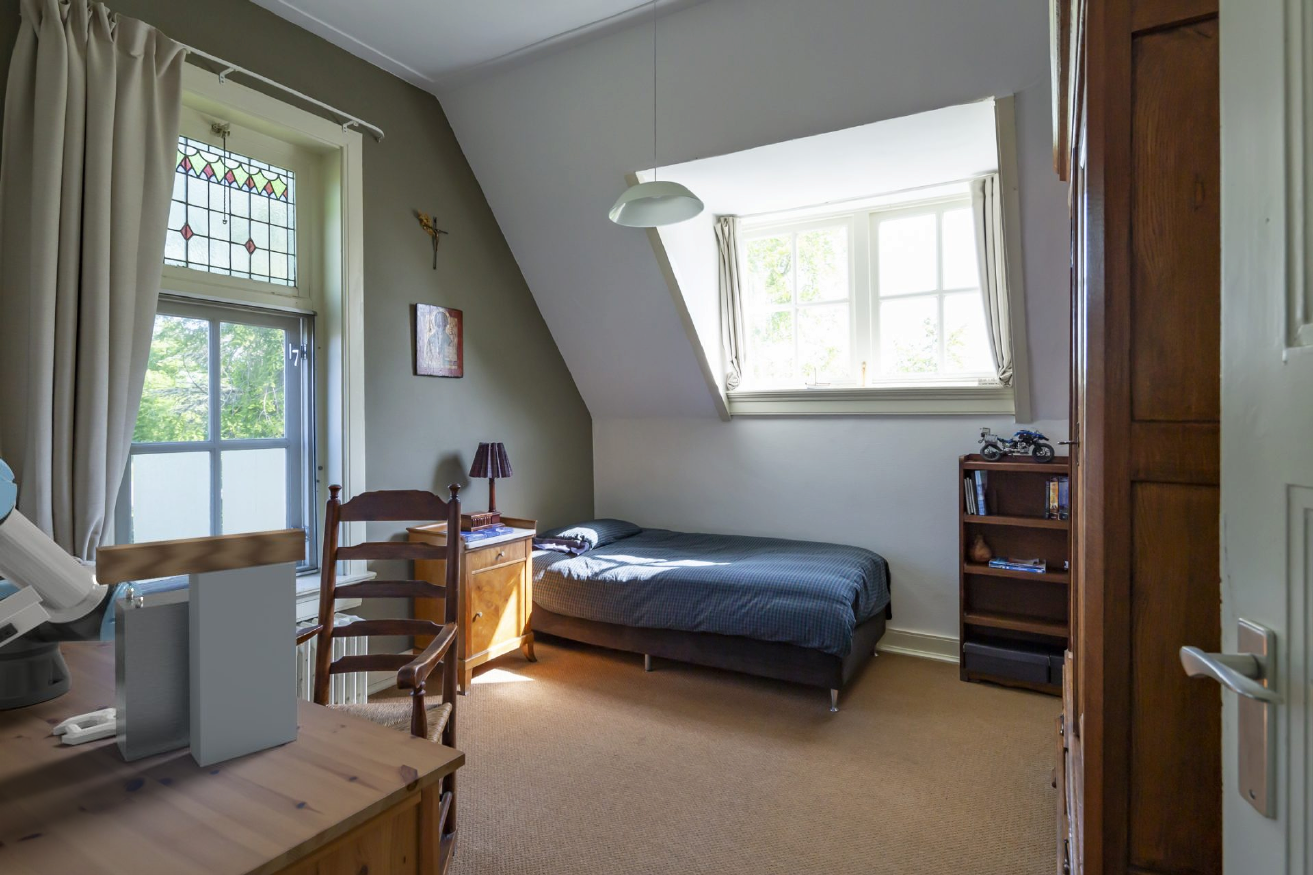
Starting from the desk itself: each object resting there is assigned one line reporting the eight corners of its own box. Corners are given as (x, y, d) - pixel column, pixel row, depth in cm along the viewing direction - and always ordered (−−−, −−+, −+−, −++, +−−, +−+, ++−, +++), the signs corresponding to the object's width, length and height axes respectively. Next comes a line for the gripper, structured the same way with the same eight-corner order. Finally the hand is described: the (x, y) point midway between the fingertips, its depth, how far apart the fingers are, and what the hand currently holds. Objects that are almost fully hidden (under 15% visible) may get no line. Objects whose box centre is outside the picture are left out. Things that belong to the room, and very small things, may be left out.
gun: (178, 686, 136) (186, 703, 128) (179, 704, 136) (187, 722, 128) (52, 717, 124) (52, 737, 116) (54, 736, 124) (54, 758, 116)
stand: (190, 752, 116) (188, 567, 115) (283, 726, 126) (282, 556, 125) (200, 767, 111) (199, 574, 110) (297, 739, 121) (296, 562, 120)
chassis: (116, 741, 120) (114, 589, 119) (224, 714, 131) (223, 575, 130) (126, 762, 113) (124, 600, 112) (240, 731, 124) (239, 584, 123)
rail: (99, 585, 103) (99, 550, 103) (95, 580, 106) (95, 547, 106) (305, 559, 123) (305, 530, 123) (297, 556, 126) (297, 528, 125)
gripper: (-126, 705, 98) (49, 605, 111) (-146, 767, 80) (66, 640, 93) (-168, 663, 96) (17, 566, 108) (-198, 718, 78) (27, 594, 90)
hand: (40, 600), depth 101 cm, fingers open, 13 cm apart
